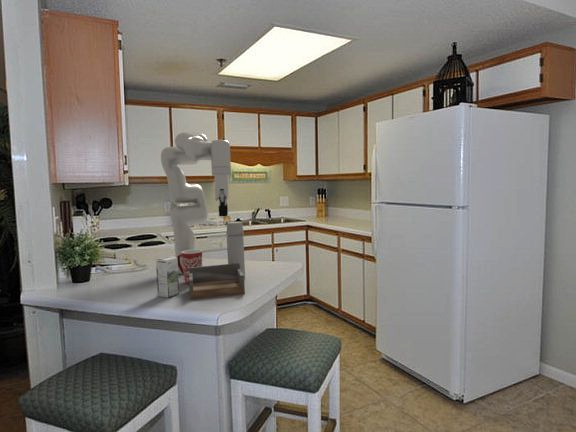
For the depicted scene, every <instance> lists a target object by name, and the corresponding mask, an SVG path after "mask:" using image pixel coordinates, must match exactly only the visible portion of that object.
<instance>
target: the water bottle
mask: <svg viewBox="0 0 576 432" xmlns="http://www.w3.org/2000/svg"><path fill="white" fill-rule="evenodd" d="M243 225H244V224H243V221H230V222H226V233H225V235H226V247H227V248H226V249H227V251H226V252H227V264H235V263H240V269H241V271H242V273H243V275H244V281H245V280H246V267H245V266H246V264H245V262H246V261H245V245H244V244H245V243H244V235H245V232H244V226H243Z"/></svg>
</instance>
